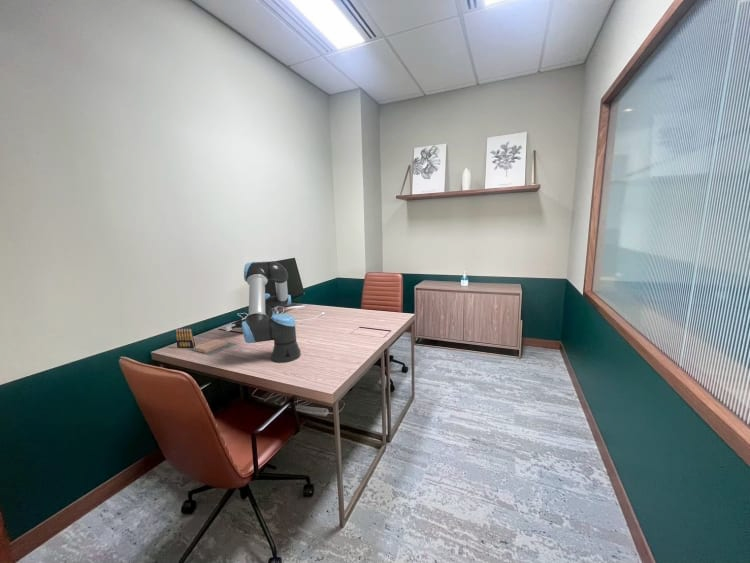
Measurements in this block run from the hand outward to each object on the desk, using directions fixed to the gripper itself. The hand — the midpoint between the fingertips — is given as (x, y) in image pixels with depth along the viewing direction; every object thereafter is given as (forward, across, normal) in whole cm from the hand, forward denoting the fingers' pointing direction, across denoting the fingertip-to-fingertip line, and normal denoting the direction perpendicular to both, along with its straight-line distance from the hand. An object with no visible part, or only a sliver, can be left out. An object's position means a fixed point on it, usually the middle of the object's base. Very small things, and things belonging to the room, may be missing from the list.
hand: (226, 329), depth 185 cm
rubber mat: (+10, 0, -8) cm, 13 cm away
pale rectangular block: (+4, 0, -7) cm, 8 cm away
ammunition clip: (+17, +15, -8) cm, 24 cm away
